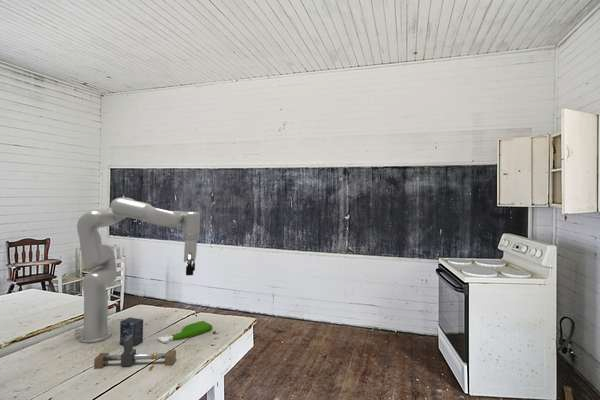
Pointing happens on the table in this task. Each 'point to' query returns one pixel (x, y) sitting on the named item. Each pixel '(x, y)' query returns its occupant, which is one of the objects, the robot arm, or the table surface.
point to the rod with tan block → (135, 358)
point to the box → (131, 330)
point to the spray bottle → (188, 331)
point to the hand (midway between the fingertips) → (190, 272)
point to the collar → (128, 352)
